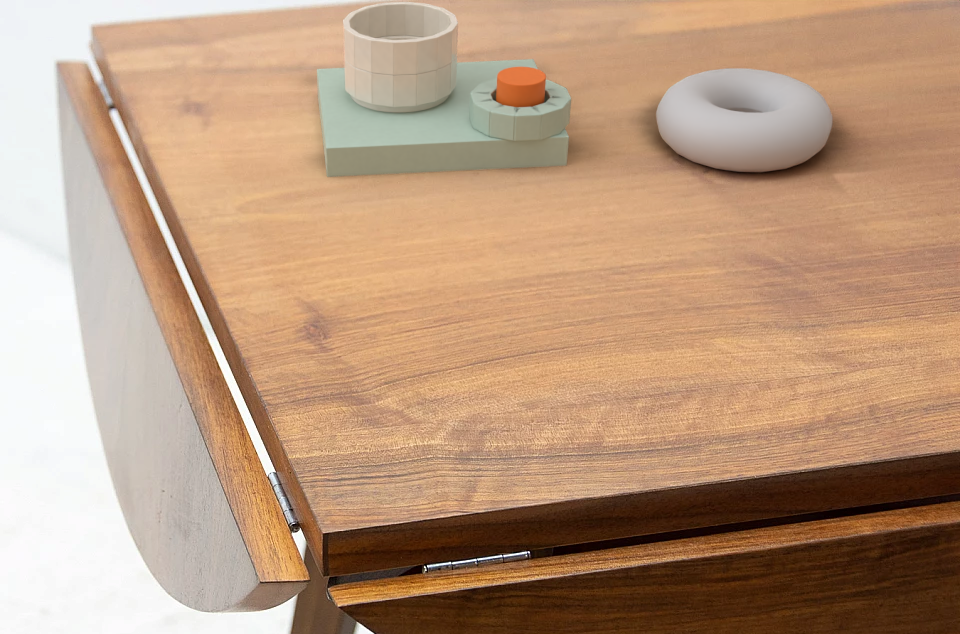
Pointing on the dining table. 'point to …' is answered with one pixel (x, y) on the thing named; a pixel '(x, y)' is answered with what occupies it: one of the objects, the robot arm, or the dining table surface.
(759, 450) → the dining table surface
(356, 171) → the scale
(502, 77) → the button
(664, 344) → the dining table surface
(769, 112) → the donut
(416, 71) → the bowl
